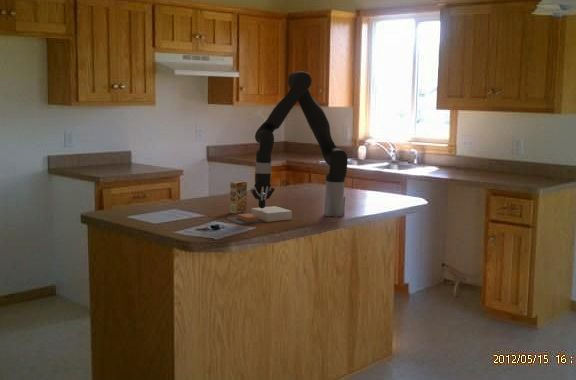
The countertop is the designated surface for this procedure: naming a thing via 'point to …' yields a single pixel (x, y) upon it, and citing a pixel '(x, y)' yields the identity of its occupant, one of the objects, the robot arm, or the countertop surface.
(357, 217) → the countertop surface
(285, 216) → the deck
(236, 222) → the mat
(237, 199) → the candy box
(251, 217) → the block
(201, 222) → the countertop surface
